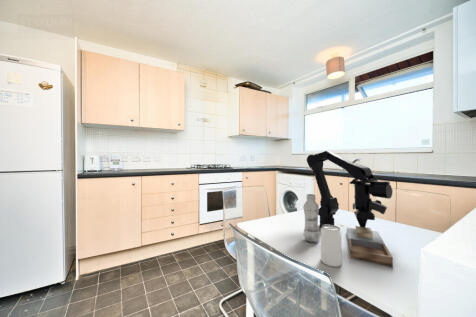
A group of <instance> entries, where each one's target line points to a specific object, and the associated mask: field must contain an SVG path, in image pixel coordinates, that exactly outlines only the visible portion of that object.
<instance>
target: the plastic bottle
mask: <svg viewBox="0 0 476 317" xmlns="http://www.w3.org/2000/svg"><path fill="white" fill-rule="evenodd" d="M319 208H320V207H319V204H318V202H316V194H314V193H312V194H311V193H307V194H306V201H305V202H304V204H303V213H304V230H303V238H304V240H305V241H306V242H309V243H317V242H319V241H320V231H319V224H318V220H319V215H318V212H319Z"/></svg>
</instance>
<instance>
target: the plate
mask: <svg viewBox="0 0 476 317" xmlns="http://www.w3.org/2000/svg"><path fill="white" fill-rule="evenodd" d="M372 235H373V238H366V237H360V236H357V235H356V229H355V228H353V227H346V238H347V240H348V239H351V243H352V245H358V246H364V247H369V248H375V249H381V250H383V245H382V244H385V242H384V240H383V238H382V237H381V235H380V233H379V232H378V231H376V230H375V231H374V230H372ZM347 245H348V247H349V244H348V243H347ZM385 245H386V244H385Z"/></svg>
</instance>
